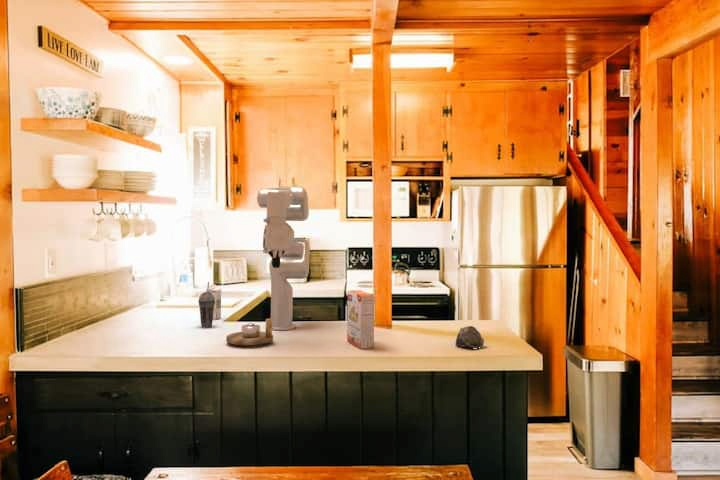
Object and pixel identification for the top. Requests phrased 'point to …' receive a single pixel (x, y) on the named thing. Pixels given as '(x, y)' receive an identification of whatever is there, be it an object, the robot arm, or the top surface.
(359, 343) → the cracker box
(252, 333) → the cover
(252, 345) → the turntable base
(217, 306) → the syrup box
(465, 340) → the dark rock
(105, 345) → the top surface
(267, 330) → the turntable
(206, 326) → the beverage cup
